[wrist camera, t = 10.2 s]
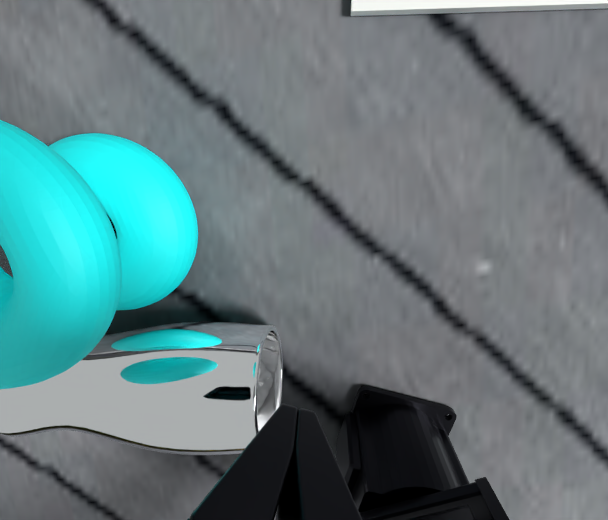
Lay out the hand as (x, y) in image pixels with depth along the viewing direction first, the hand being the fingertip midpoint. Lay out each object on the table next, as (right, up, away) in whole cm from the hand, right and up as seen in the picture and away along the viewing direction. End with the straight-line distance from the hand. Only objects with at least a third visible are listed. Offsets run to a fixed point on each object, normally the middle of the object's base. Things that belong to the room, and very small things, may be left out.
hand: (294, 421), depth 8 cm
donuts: (-11, +6, +12) cm, 17 cm away
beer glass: (-17, -3, +12) cm, 21 cm away
